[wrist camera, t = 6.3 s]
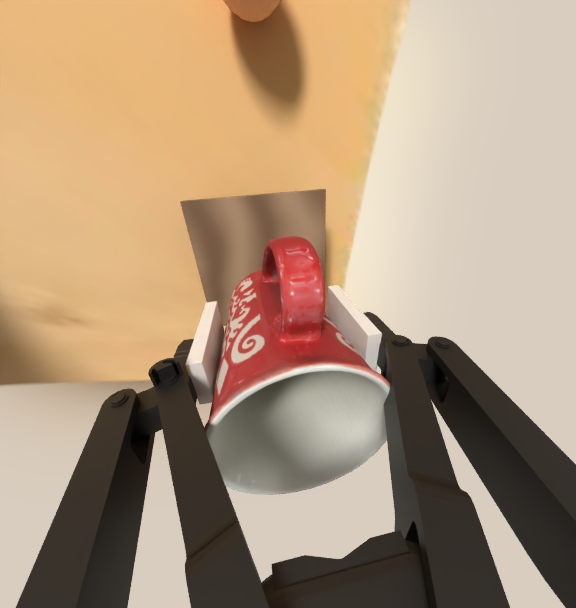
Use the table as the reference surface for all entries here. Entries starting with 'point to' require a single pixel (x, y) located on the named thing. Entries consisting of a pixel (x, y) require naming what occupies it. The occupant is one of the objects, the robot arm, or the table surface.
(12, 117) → the table surface
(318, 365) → the mug
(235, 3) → the egg
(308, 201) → the stool
